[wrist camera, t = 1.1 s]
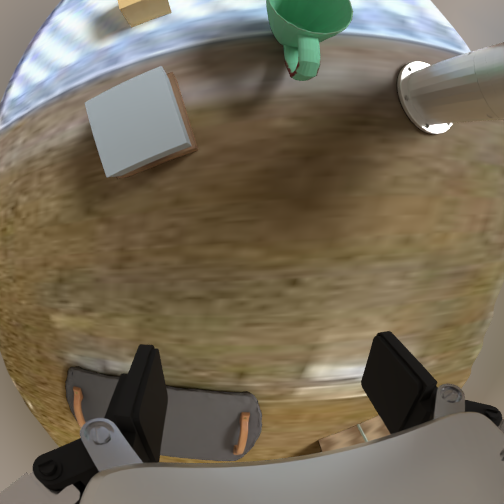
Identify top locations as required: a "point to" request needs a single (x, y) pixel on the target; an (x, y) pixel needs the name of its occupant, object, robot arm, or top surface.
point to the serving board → (179, 416)
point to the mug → (306, 30)
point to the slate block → (136, 123)
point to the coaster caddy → (355, 435)
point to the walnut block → (187, 125)
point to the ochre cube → (143, 10)
